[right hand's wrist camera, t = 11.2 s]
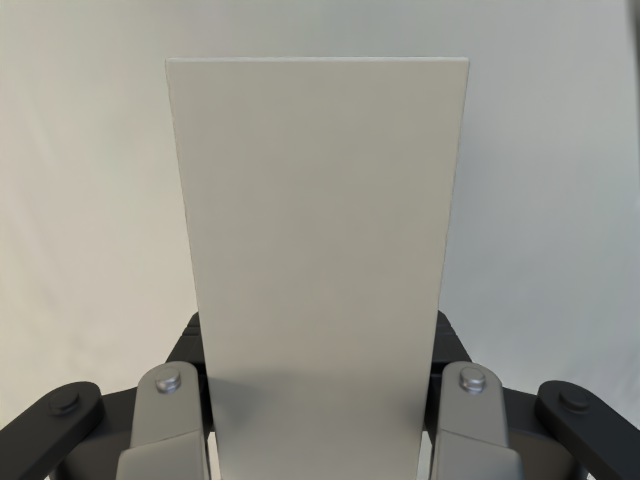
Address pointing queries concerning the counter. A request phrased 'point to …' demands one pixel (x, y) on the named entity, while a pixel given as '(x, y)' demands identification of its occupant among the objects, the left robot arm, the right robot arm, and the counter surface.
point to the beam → (317, 252)
